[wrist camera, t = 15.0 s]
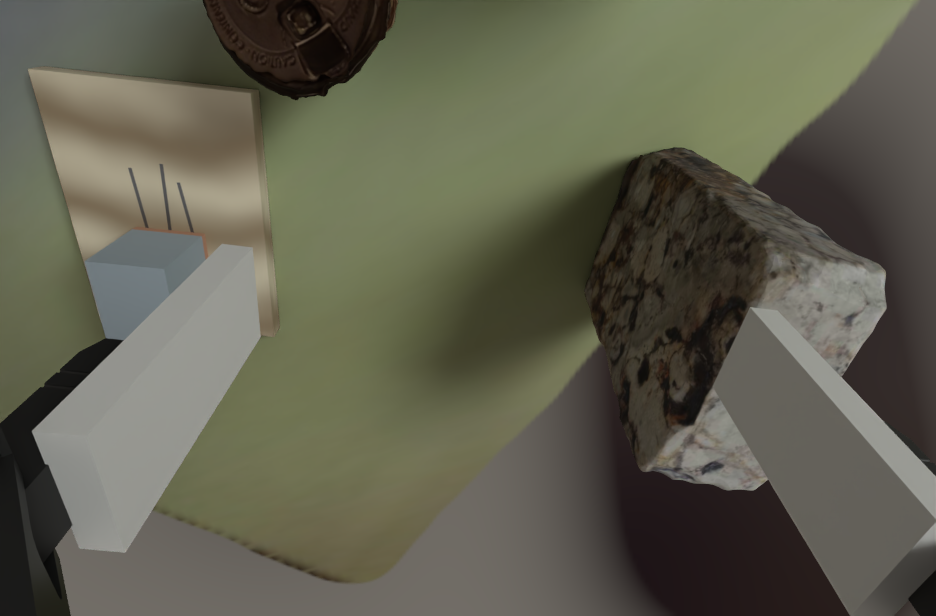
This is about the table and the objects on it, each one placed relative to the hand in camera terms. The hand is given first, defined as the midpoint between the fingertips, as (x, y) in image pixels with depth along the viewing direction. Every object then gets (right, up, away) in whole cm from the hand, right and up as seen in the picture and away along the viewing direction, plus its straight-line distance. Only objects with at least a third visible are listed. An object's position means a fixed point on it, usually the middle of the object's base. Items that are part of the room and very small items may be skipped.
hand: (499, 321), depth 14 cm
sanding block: (-23, +3, +27) cm, 36 cm away
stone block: (+12, +7, +26) cm, 30 cm away
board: (-23, +8, +26) cm, 35 cm away
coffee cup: (-8, +20, +19) cm, 29 cm away
